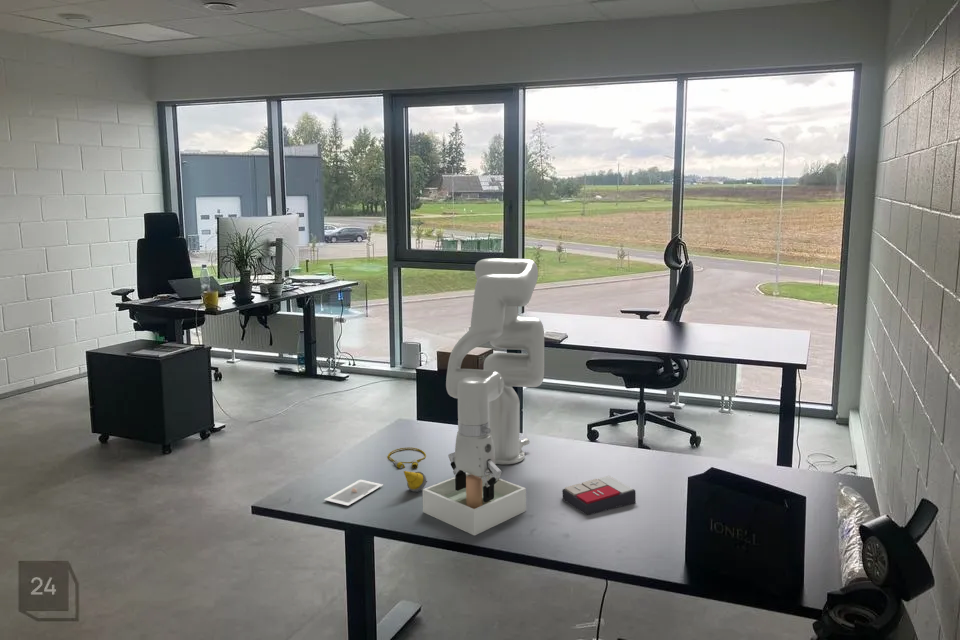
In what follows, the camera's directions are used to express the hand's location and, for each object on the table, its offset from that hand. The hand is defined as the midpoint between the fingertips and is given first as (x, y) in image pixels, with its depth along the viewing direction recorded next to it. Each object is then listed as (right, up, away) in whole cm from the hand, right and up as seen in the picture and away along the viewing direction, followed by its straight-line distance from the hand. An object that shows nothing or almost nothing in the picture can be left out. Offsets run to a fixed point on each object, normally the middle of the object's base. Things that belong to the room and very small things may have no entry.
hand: (474, 494), depth 181 cm
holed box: (0, -4, +1) cm, 4 cm away
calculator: (+32, -4, +6) cm, 32 cm away
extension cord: (-21, +1, +37) cm, 42 cm away
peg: (0, -4, +1) cm, 5 cm away
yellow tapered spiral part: (-16, -3, +13) cm, 21 cm away
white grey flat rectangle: (-32, -3, +12) cm, 34 cm away
